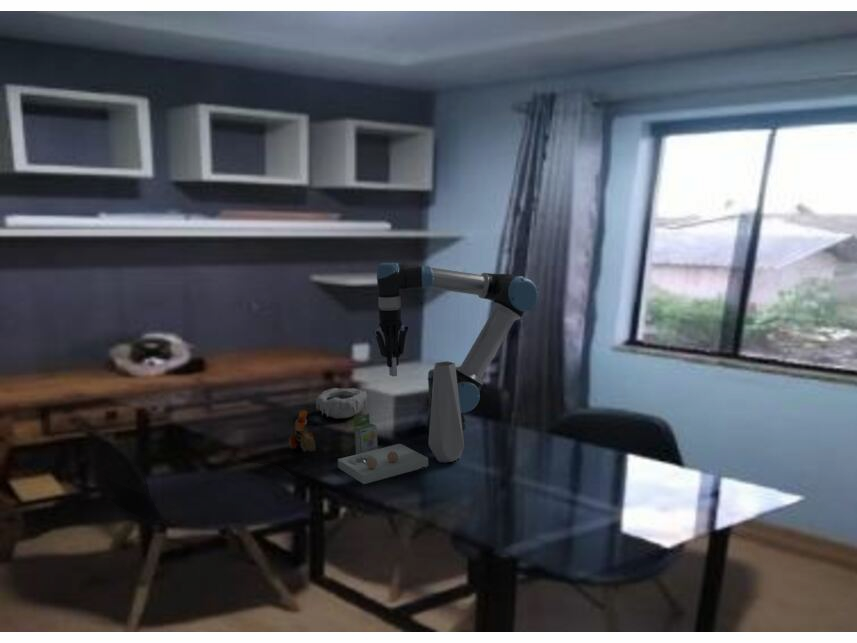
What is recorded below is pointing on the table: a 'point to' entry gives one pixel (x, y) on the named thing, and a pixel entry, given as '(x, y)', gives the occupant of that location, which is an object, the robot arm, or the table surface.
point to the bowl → (341, 402)
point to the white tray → (382, 463)
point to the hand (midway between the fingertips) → (393, 375)
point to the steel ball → (361, 461)
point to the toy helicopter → (302, 434)
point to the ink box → (365, 435)
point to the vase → (445, 414)
